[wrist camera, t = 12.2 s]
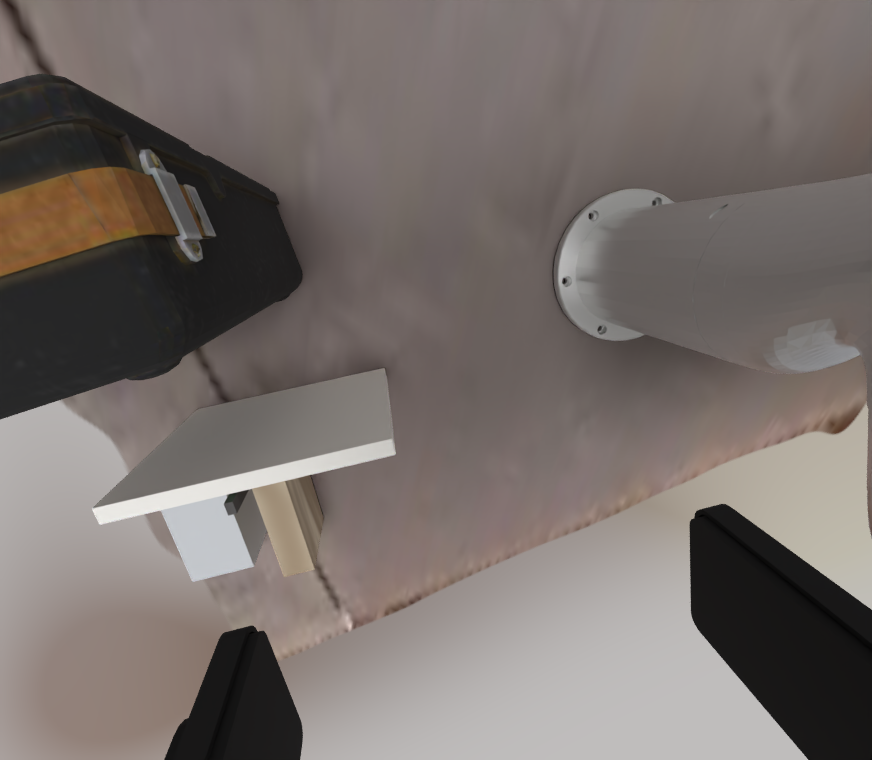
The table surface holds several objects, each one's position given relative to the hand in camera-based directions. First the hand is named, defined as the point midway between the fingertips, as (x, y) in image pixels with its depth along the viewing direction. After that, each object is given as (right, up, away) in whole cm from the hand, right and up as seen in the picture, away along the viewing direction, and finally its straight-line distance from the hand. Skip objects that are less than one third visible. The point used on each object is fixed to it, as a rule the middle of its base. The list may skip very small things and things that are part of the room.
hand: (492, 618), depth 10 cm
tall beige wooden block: (-14, -3, +31) cm, 34 cm away
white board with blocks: (-14, -2, +31) cm, 34 cm away
